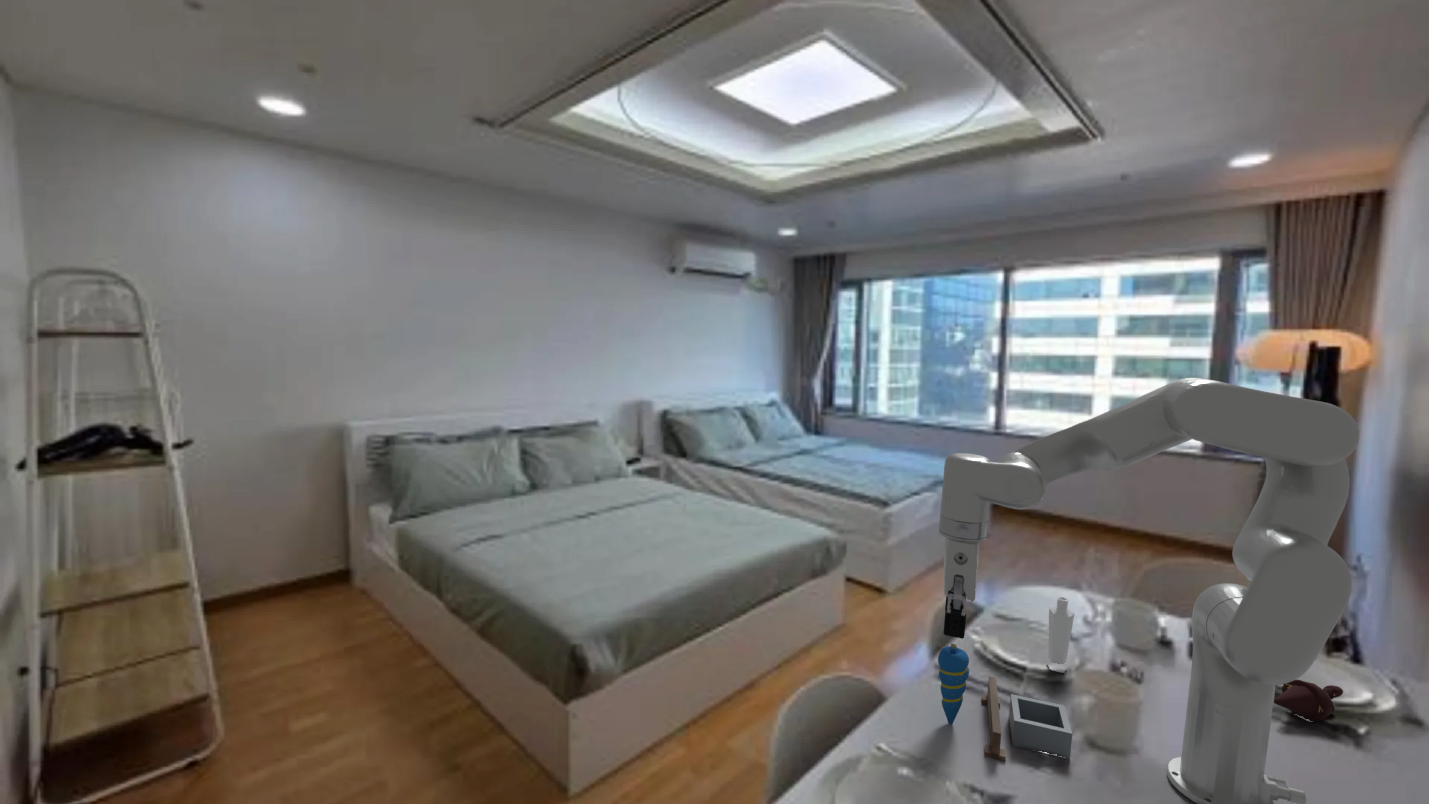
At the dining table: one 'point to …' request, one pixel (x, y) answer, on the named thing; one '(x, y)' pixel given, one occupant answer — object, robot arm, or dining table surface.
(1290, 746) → the dining table surface
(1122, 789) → the dining table surface
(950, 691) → the ornament
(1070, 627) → the perfume bottle
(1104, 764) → the dining table surface
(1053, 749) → the holder
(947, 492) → the robot arm
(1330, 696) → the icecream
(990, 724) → the rail
